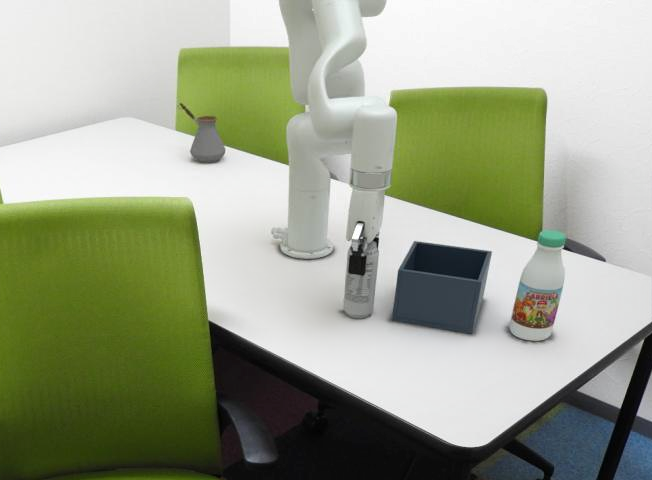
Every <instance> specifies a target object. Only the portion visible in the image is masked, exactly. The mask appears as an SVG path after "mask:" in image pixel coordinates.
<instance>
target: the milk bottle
mask: <svg viewBox="0 0 652 480" xmlns="http://www.w3.org/2000/svg"><path fill="white" fill-rule="evenodd" d="M566 241H567V235H566V234H565V233H564V232H562V231H560V230H552V229H546V230H541V231H540V232H539V233H538V237H537V241H536V245H537V247H536V250H535V252H534V253H533V255H532V256H531V258H530V259H529V260H528V261H527V263H525V266H524V267H523V269H522V272H521V274H520V278H519V282H518V286H517V290H516V294H515V299H514V303H513V308H512V313H511V316H510V322H509V331H510V333H511V334H512V335H514V336H515V337H517V338H518V339H522V340H525V341H532V342H537V341H544V340H545V341H546V340H547V339H548V338H550V336H551V335H552V332H553V329H554V325H555V321H556V317H557V313H558V309H559V305H560V301H561V297H562V293H563V289H564V284H565V274H566V273H565V267H564V264H563V263H564V262H563V258H562V250H563V249H564V248H565V244H566Z"/></svg>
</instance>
